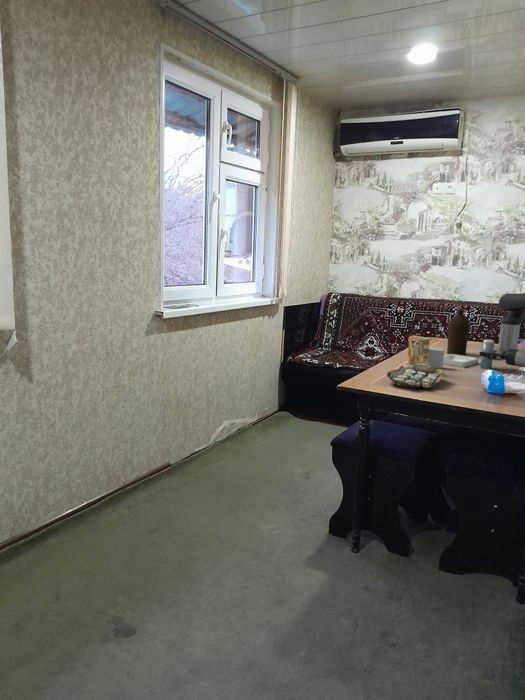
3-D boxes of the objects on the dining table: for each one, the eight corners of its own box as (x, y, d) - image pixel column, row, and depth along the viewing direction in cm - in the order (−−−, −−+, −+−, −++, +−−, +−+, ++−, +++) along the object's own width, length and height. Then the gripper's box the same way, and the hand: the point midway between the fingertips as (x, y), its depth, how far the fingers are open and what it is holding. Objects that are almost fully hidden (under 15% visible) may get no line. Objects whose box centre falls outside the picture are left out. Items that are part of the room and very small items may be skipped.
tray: (450, 358, 270) (451, 353, 269) (477, 363, 260) (478, 358, 259) (435, 362, 259) (436, 357, 258) (463, 367, 249) (463, 362, 248)
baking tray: (435, 396, 201) (437, 382, 200) (379, 387, 211) (380, 374, 210) (447, 379, 227) (449, 367, 226) (397, 372, 237) (398, 360, 236)
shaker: (482, 366, 254) (485, 339, 251) (493, 367, 250) (496, 340, 248) (478, 367, 250) (481, 340, 248) (489, 369, 247) (492, 341, 244)
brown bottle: (452, 356, 277) (457, 308, 272) (442, 352, 287) (446, 306, 282) (470, 355, 279) (475, 308, 274) (459, 351, 289) (463, 306, 284)
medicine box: (442, 367, 249) (444, 349, 248) (441, 369, 245) (443, 350, 244) (425, 365, 252) (427, 347, 251) (424, 367, 248) (425, 349, 247)
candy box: (427, 371, 239) (430, 338, 236) (421, 372, 237) (424, 338, 234) (412, 367, 247) (415, 335, 244) (406, 368, 244) (408, 335, 241)
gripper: (525, 348, 243) (490, 343, 254) (514, 351, 233) (477, 346, 245) (523, 364, 245) (488, 358, 256) (512, 368, 235) (476, 362, 246)
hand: (483, 352), depth 250 cm, fingers open, 8 cm apart
